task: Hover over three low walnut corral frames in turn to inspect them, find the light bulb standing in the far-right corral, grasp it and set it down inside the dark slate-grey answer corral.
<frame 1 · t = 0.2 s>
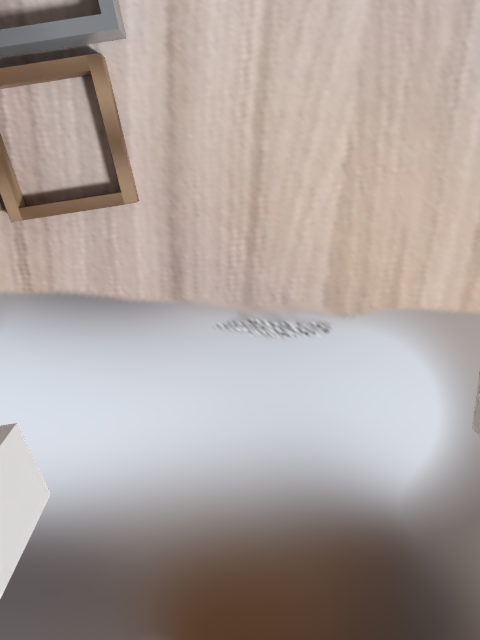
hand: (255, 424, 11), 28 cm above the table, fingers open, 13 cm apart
corral C: (59, 143, 32), on the table
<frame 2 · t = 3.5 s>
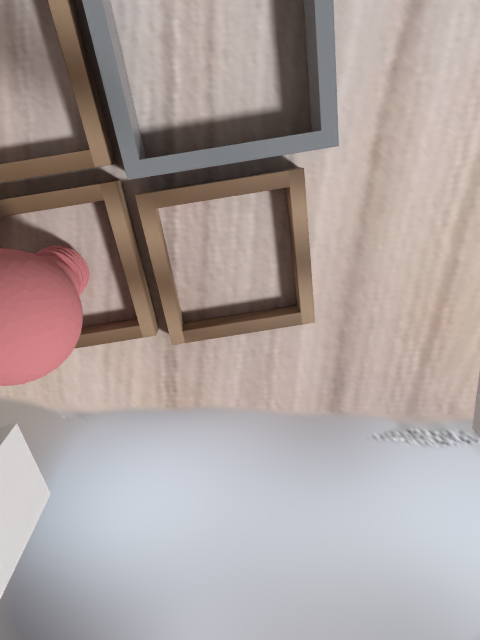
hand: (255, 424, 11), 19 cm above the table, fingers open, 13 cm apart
corral B: (66, 271, 28), on the table
answer corral: (214, 45, 23), on the table
light bulb: (67, 270, 28), resting in corral B
corral A: (0, 80, 23), on the table
corral C: (231, 258, 28), on the table
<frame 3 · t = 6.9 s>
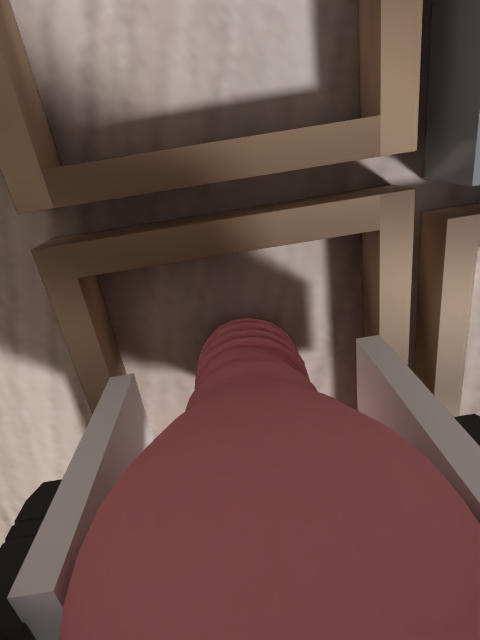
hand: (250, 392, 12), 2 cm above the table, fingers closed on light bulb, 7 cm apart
corral B: (245, 360, 14), on the table
light bulb: (245, 357, 15), resting in corral B, touching gripper
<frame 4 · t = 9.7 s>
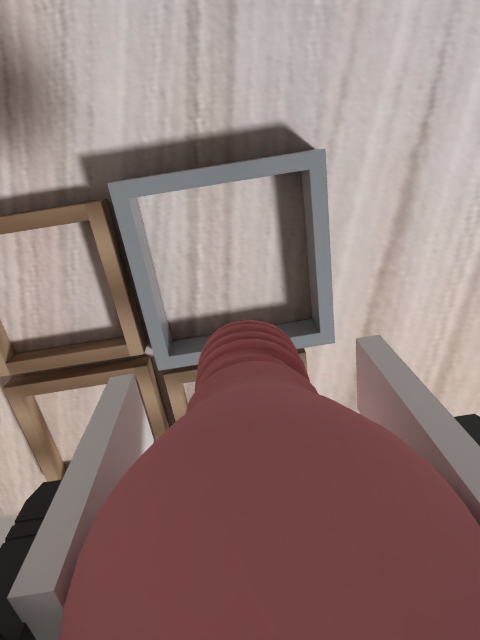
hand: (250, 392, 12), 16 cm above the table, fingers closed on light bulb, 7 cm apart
corral B: (101, 422, 32), on the table
answer corral: (231, 261, 27), on the table
light bulb: (245, 358, 15), point 14 cm above the table, touching gripper
corral A: (52, 289, 27), on the table
corral C: (243, 409, 33), on the table
when the fingers open (3 cm above the table, at t = 12.5 s): light bulb stays where it is, resting in answer corral.
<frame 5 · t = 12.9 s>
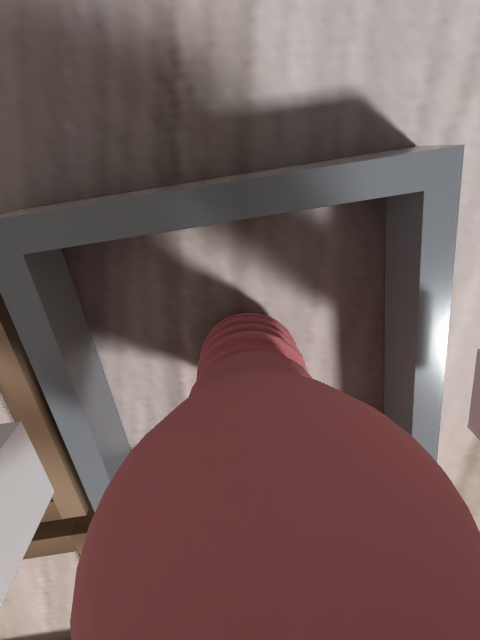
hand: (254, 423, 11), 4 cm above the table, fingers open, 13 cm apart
corral B: (29, 593, 20), on the table
answer corral: (244, 354, 15), on the table
light bulb: (245, 351, 15), resting in answer corral
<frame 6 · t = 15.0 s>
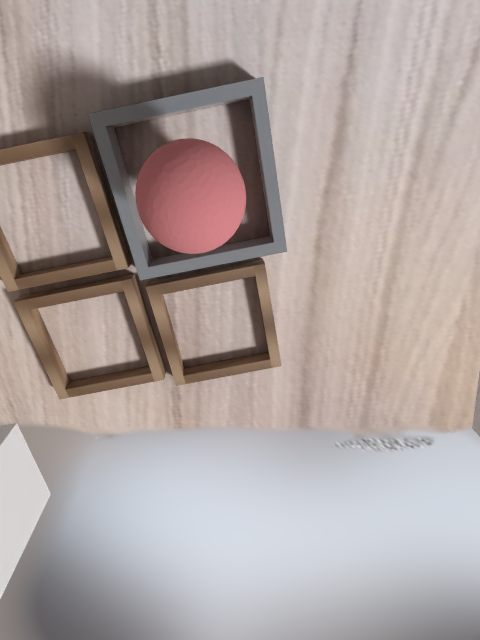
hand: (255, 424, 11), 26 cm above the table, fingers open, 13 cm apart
corral B: (97, 336, 38), on the table
answer corral: (197, 185, 33), on the table
light bulb: (197, 185, 33), resting in answer corral
corral A: (49, 215, 33), on the table
corral C: (217, 322, 38), on the table
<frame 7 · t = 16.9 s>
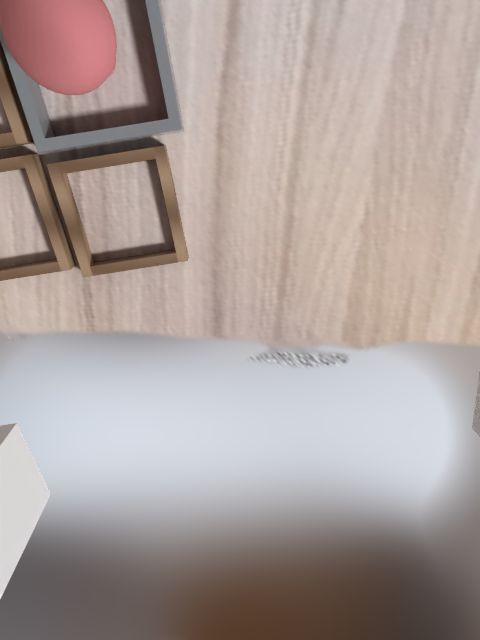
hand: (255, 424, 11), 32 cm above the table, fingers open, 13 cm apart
corral B: (4, 221, 38), on the table
answer corral: (96, 61, 34), on the table
light bulb: (97, 61, 34), resting in answer corral
corral C: (124, 213, 39), on the table
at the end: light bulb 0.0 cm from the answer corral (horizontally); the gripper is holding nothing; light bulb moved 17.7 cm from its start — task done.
